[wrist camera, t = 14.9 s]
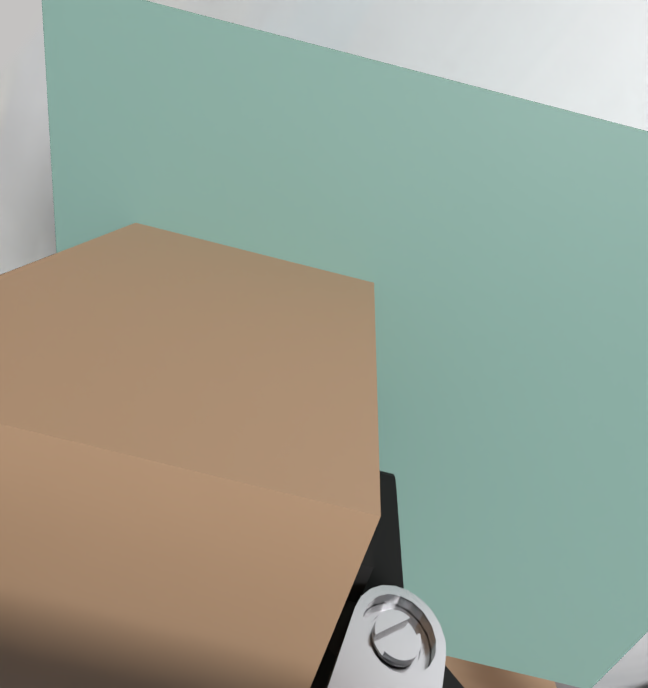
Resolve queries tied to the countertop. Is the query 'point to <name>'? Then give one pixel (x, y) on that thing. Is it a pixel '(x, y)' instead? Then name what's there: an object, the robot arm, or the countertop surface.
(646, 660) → the countertop surface
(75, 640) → the lid
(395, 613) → the robot arm
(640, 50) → the countertop surface
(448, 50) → the countertop surface
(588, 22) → the countertop surface
